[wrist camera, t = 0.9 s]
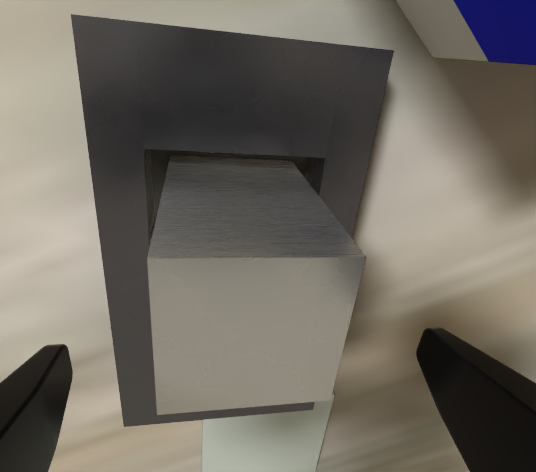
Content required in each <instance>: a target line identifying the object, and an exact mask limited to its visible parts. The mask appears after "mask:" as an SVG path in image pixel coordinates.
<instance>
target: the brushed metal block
mask: <svg viewBox="0 0 536 472" xmlns="http://www.w3.org/2000/svg"><path fill="white" fill-rule="evenodd" d="M365 261H366V256H365V255H364V254H363V252H362V251H361V250H360V248H359V247H358V246H357V245H356V243H355V242H354V241H353V239H352V238H351V237H350V236H349V234H348V233H347V232H346V230H345V229H344V228H343V226H342V225H341V224H340V223H339V221H338V220H337V219H336V217H335V216H334V215H333V214H332V212H331V211H330V210H329V208H328V207H327V206H326V205H325V203H324V202H323V201H322V199H321V198H320V197H319V196H318V194H317V193H316V192H315V190H314V189H313V188H312V187H311V185H310V184H309V183H308V181H307V180H306V179H305V178H304V176H303V175H302V174H301V172H300V171H299V170H298V169H297V167H296V166H295V165H294V163H293V162H292V161H285V160H264V159H242V158H221V157H199V156H178V155H170V160H169V164H168V169H167V173H166V177H165V182H164V186H163V191H162V195H161V199H160V204H159V208H158V213H157V217H156V222H155V226H154V230H153V235H152V239H151V244H150V248H149V252H148V257H147V264H148V280H149V296H150V311H151V327H152V343H153V358H154V374H155V390H156V405H157V415H163V414H175V413H187V412H199V411H211V410H223V409H234V408H246V407H258V406H270V405H282V404H294V403H306V402H317V401H329V400H331V396H332V392H333V388H334V384H335V380H336V376H337V372H338V368H339V364H340V360H341V356H342V352H343V348H344V344H345V340H346V336H347V332H348V328H349V324H350V320H351V316H352V312H353V308H354V304H355V300H356V296H357V292H358V288H359V285H360V281H361V277H362V273H363V269H364V265H365Z"/></svg>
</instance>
